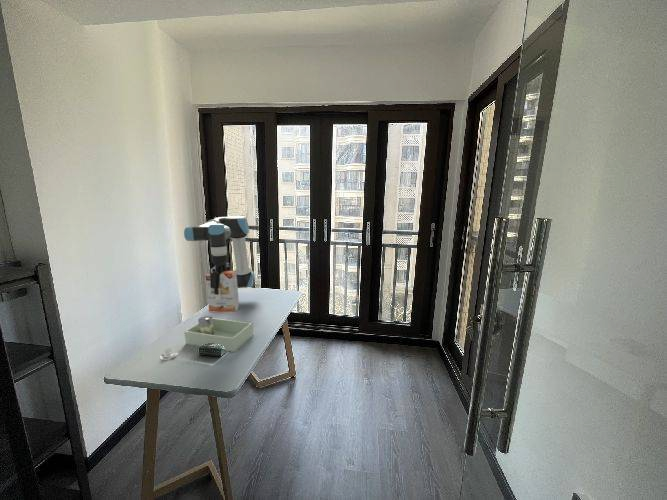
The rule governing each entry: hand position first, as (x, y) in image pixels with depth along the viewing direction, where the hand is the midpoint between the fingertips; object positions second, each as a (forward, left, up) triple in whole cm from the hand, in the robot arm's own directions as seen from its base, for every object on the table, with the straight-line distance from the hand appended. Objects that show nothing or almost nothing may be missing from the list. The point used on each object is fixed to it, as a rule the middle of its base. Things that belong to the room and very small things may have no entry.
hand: (223, 297), depth 144 cm
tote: (0, -5, -25) cm, 26 cm away
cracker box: (0, 0, -7) cm, 7 cm away
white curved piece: (+22, -19, -26) cm, 38 cm away
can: (0, -13, -25) cm, 28 cm away
